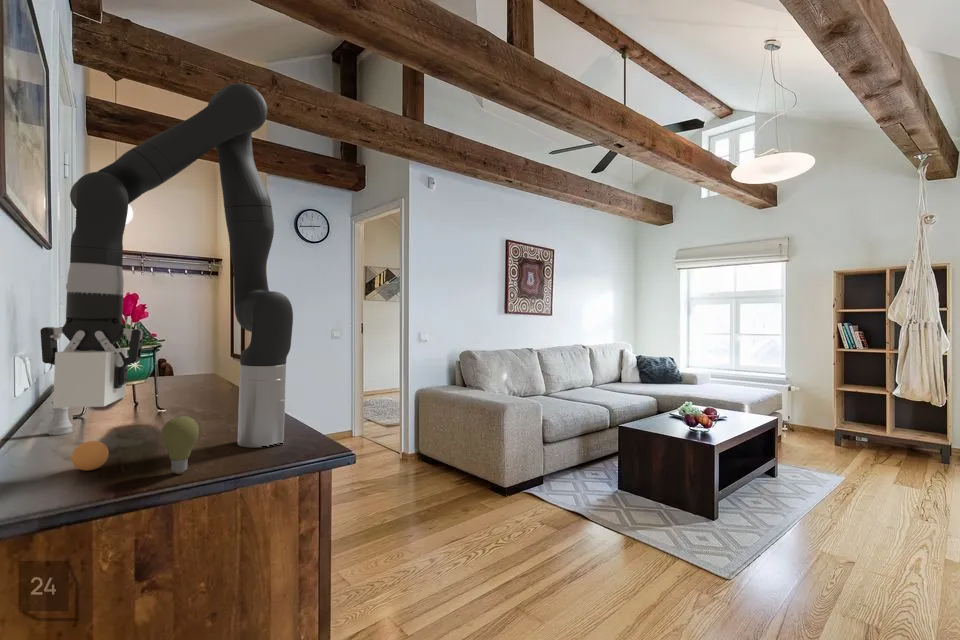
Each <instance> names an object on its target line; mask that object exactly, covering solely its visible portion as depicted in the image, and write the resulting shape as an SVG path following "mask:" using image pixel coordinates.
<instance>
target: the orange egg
mask: <svg viewBox="0 0 960 640" xmlns="http://www.w3.org/2000/svg"><path fill="white" fill-rule="evenodd" d="M108 458H109V449H108V446H106V444H105V443H103V442H101V441H98V440H90V441H89V440H88V441H85V442H83V443H81V444H80V445H79V444H78V446H77V447H76V448H75V449H74V450H73V452H72V455H71V463H72V464H73V466H74V467H75V468H76V469H78V470H82V471H86V472H87V471H93V470H97V469H98V468H100V467H102V466H103V465H104V464H105V463H106V462H107V460H108Z"/></svg>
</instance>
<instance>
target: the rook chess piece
mask: <svg viewBox="0 0 960 640" xmlns="http://www.w3.org/2000/svg"><path fill="white" fill-rule="evenodd" d="M51 405H53V400H52V401H51ZM51 410H52V411H53V415H52V419H51V422H50V423H49V425H48V426H47V432H46V434H47V435H48V434H49V436H64V435H68V434H71V433H73V431H74V429H73V423H71V420H70V419H69V412H68V410H69V408H52V409H51Z"/></svg>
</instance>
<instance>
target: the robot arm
mask: <svg viewBox="0 0 960 640" xmlns="http://www.w3.org/2000/svg"><path fill="white" fill-rule="evenodd" d="M267 117H268V106H267V102H266V101H265V99H264V97H263V95H262V94H261V93H260V92H259V91H258V90H257V89H256V88H255V87H253V86H251V85H248V84H245V83H239V82H237V83H230V84H228V85H226V86H223V87H222V88H221V89H219V90H218V91H217V92H215V93H214V94H213V95H212V96H211V97H210V98H209V101H208V103H207V106H206V107H204V108H203V109H201V110H200V111H198V112H197V113H196V114H194V115H192V116H190V117H189V118H187V119H185V120H183V121H181V122H179V123H178V124H176V125H173V126H172V127H170V128H167V129H165V130H164V131H162V132H160V133H158V134H155V135H154V136H152V137H149V138H148V139H146V140H144V141H143V142H141V143H139V144H138V145H136V146H134V147H133V148H131V149H129V150H127V151H126V152H124V153H123V154H122V155H121V156H119V157H118V158H117V159H116V160H114V162H112V163H110V164H108V165H107V166H104V167H103V168H100V169H99V170H97V171H92V172H89V173H86V174H83V176H81V177H80V178H79V179H78V180H77V181H76V182H75V183H74V184H73V185H72V187H71V190H70V193H69V197H70V198H69V199H70V202H71V204H72V205H73V207H74V209H75V227H74V230H73V232H72V235H71V239H70V247H69V248H70V255H69V256H70V257H69V269H68V272H67V279H66V281H67V282H66V285H65V289H66V306H65V307H66V308H65V323H64V324H63V326H62V327H61V326H60V327H54V326H46V327H42V328H41V329H40V331H39V332H40V346H41V347H40V349H41V360H42V362H43V364H50V365H54V366H55V353H56V352H59V351H58V350H59V349H58V348H59V347H58V340H60V339H61V336H62V334H63V335H64V336H65V337H66V339H68V341H69V342H68V344H67V345H66V347H65V348H64V349H63V351H75V350H80V351H88V350H95V351H114V354H115V362H114V363H115V365H116V367H114V389H117V388H121V387H122V385H124V384H125V383H126V384H127V380H128V379H127V377H128V367H129V366H130V365H131V364H134V363H138V362H139V361H141V358H142V349H143V341H144V335H145V334H144V333H145V331H144V329H142V328H134V329H133V328H125V326H124V324H123V313H124V312H123V311H124V310H123V309H124V283H125V282H124V272H123V263H124V262H123V261H124V255H123V254H124V247H123V246H124V245H123V242H124V241H123V239H124V234H125V228H126V223H127V218H128V210H129V205H130V204H131V203H133V202H134V201H135V200H137V199H138V198H139V197H141V196H142V195H143V194H145V193H147V192H149V191H152V190H154V189H156V188H158V187H160V186H161V185H163V184H164V183H166V182H167V181H168V180H170V179H172V178H173V177H175V176H176V175H177V174H179V173H181V172H182V171H184V170H185V169H187V167H188V168H189V167H190V165H192V164H194V163H195V162H196V161H197V160H198V159H200V158H202V157H203V156H204V155H206V154H207V153H209V152H210V151H212V150H213V149H214V148H215V149H216V154H217V160H218V167H219V173H220V174H219V175H220V176H219V177H220V182H221V184H220V185H221V191H222V198H223V208H224V210H223V211H224V215H225V216H224V217H225V223H226V228H227V233H228V242H229V249H230V250H229V251H230V256H231V258H230V259H231V263H232V264H231V265H232V271H233V292H234V293H233V297H234V298H233V299H234V302H233V303H234V304H233V305H234V314H235V317H236V320H237V322H238V324H239V326H240V327H241V328H242V329H244V330H245V331H247V332H251V335H250V336H251V337H250V342H249V344H248V346H247V347H246V348H245V349H244V350H243V349H242V351H241V353H240V359H239V361H240V362H239V363H240V364H239V384H238V385H239V387H238V390H239V391H238V414H237V416H238V417H237V418H238V419H237V445H238V447H244V448H263V447H262V446H267V447H270V446H269V445H273V444H277V443H283V444H284V442H283V441H284V440H285V413H286V411H285V410H286V380H287V379H286V378H287V357H288V355H289V353H290V351H291V348H292V347H291V346H292V335H293V327H294V326H293V325H294V309H293V306H292V303H291V301H290V299H289V297H287V296H286V295H285V294H283V293H281V292H278V291H275V290H274V291H271V290H269V283H268V277H267V263H268V259H269V254H270V251H271V247H272V245H273V244H272V243H273V239H274V234H275V223H274V215H273V209H272V207H273V206H272V202H271V197H270V194H269V192H268V189H267V187H266V185H265V183H264V181H263V180H262V179H263V178H261V175H260V173H259V170H258V169H257V166H256V162H255V159H254V158H255V157H254V151H253V150H254V149H253V135H252V133H254V132H255V131H257V130H259V129H260V128H261V127H262V126H263V125H264V124H265V122H266V120H267ZM124 335H125V336H126V340H127V341H129V349H128V355H127V358H126V357H125V355H124V354H123V351H122V349H123V348H121V346H120V344H119V343H118V341H119V340H121V338H122V337H123V336H124ZM277 445H278V444H277ZM273 446H274V445H273Z"/></svg>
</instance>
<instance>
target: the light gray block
mask: <svg viewBox="0 0 960 640" xmlns="http://www.w3.org/2000/svg"><path fill="white" fill-rule="evenodd" d="M121 349H122V351H123V354H124V355H125V357H126V358H128V348H121ZM114 362H115V354H114V351H95V350H88V351H80V350H75V351H64V350H63V351H58V352H56V353H55V365H54V377H53V400H52V401H53V404H52V405H53V406H52V407H53V408H98V407H99V408H100V407H101V408H102V407H103V408H104V407H106V406H108V405H110V404H112V403H115V402H117V401H119V400H121V399H123V398H125V397H127V396H126V395H127V382H126V383H125V384H124V385H122V387H121V388H117V389H114V367H116V365H115V363H114ZM53 408H52V409H53Z"/></svg>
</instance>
